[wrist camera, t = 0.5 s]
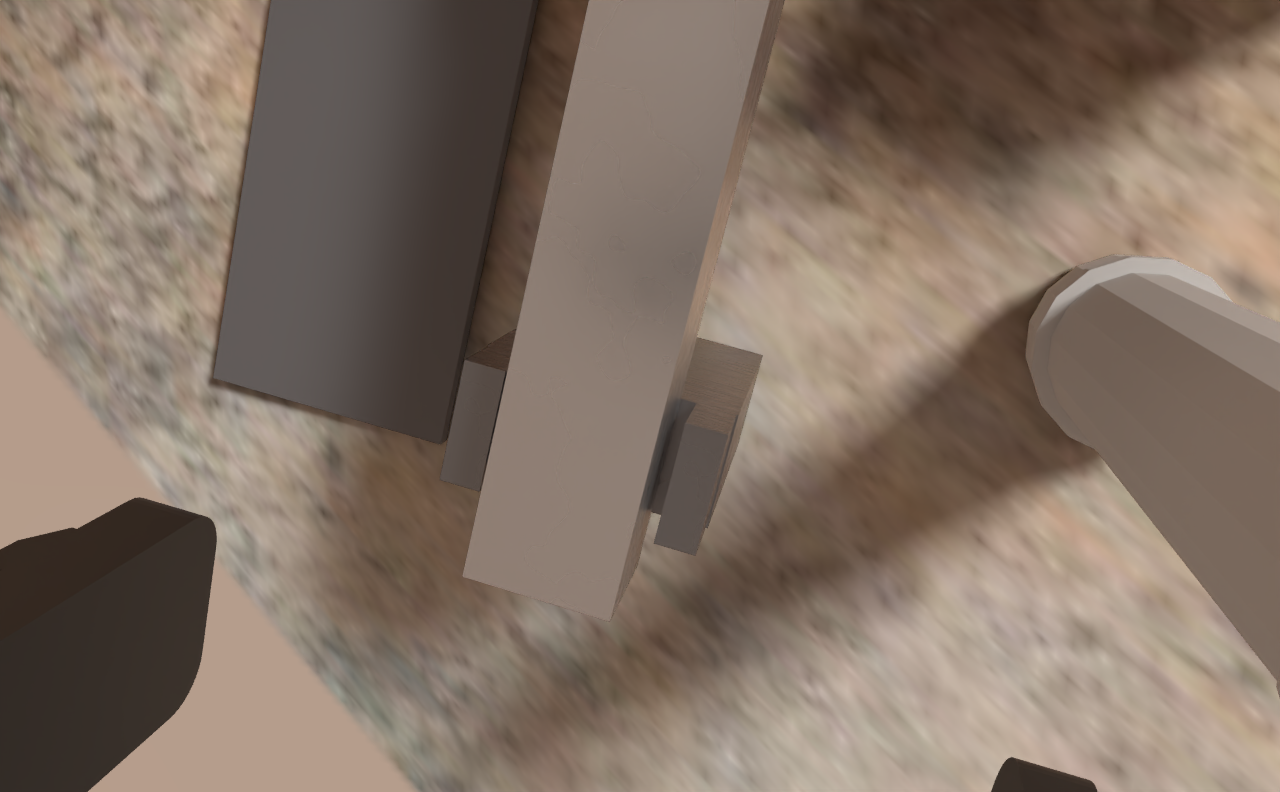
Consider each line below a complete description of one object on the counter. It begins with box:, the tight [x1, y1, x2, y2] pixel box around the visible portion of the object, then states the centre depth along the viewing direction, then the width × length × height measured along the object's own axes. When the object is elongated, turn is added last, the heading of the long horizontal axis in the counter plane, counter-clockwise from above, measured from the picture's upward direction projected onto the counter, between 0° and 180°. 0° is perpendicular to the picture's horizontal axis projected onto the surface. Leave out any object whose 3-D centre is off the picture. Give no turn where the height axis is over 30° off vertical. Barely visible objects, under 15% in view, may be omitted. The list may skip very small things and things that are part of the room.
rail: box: [462, 0, 785, 622], centre depth 25 cm, size 22×4×4 cm, turn 166°
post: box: [440, 329, 763, 556], centre depth 32 cm, size 3×6×10 cm, turn 76°
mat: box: [213, 0, 538, 444], centre depth 35 cm, size 24×8×1 cm, turn 166°
